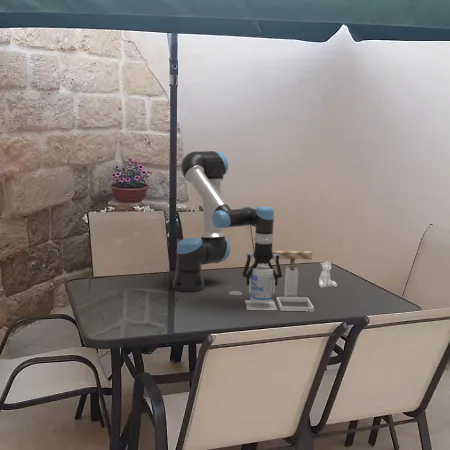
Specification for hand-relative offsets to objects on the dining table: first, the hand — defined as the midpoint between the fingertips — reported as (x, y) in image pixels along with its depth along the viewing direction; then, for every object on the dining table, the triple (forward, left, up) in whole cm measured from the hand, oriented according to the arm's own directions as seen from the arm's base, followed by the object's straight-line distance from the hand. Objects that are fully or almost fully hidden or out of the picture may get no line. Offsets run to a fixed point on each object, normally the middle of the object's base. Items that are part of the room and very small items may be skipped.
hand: (261, 292), depth 263 cm
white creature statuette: (+36, +34, -7) cm, 50 cm away
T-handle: (+12, +11, +8) cm, 19 cm away
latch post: (+15, +12, -6) cm, 20 cm away
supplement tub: (0, 0, -4) cm, 4 cm away
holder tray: (+15, 0, -6) cm, 16 cm away
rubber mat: (0, 0, -6) cm, 6 cm away
